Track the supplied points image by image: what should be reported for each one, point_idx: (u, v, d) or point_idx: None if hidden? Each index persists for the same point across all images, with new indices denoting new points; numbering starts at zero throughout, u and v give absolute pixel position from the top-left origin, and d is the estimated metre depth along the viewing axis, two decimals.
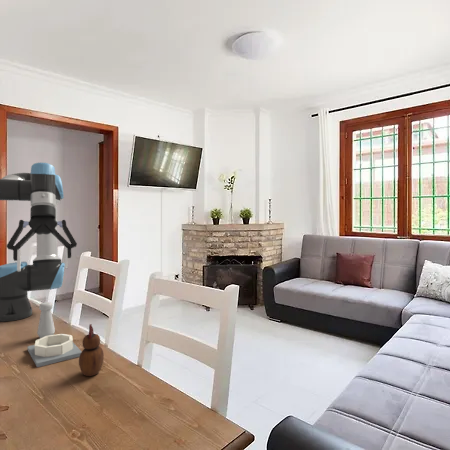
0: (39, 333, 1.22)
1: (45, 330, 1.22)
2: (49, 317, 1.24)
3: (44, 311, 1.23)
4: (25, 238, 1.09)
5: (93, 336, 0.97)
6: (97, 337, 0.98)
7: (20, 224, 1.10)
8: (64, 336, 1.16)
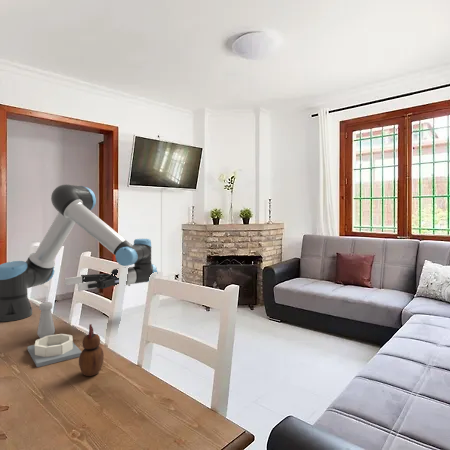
0: (39, 333, 1.22)
1: (45, 330, 1.22)
2: (49, 317, 1.24)
3: (44, 311, 1.23)
4: None
5: (93, 336, 0.97)
6: (97, 337, 0.98)
7: None
8: (64, 336, 1.16)
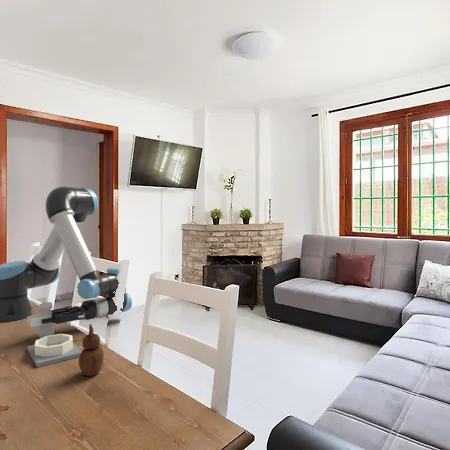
0: (39, 333, 1.22)
1: (45, 330, 1.22)
2: None
3: (44, 311, 1.23)
4: None
5: (93, 336, 0.97)
6: (97, 337, 0.98)
7: None
8: (64, 336, 1.16)
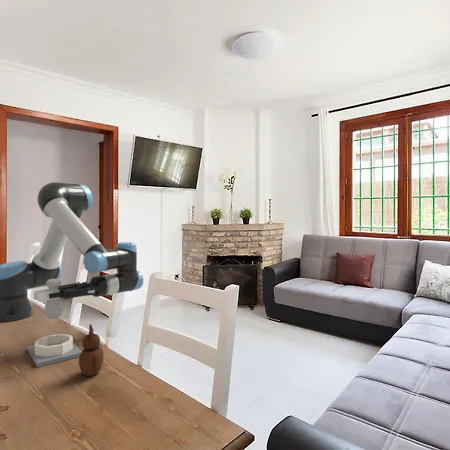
0: (46, 311, 1.13)
1: (52, 309, 1.13)
2: None
3: (52, 288, 1.14)
4: None
5: (93, 336, 0.97)
6: (97, 337, 0.98)
7: None
8: (64, 336, 1.16)
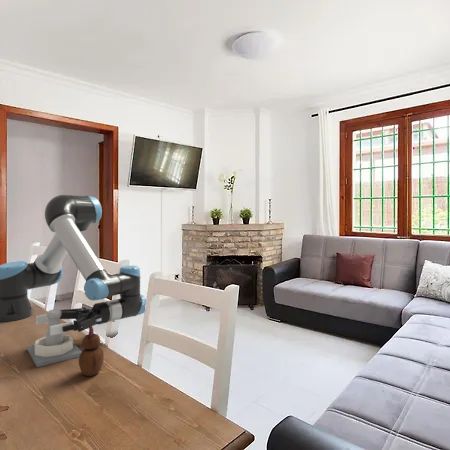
0: (46, 344, 1.09)
1: (53, 341, 1.09)
2: None
3: (52, 319, 1.10)
4: None
5: (93, 336, 0.97)
6: (97, 337, 0.98)
7: None
8: (64, 336, 1.16)
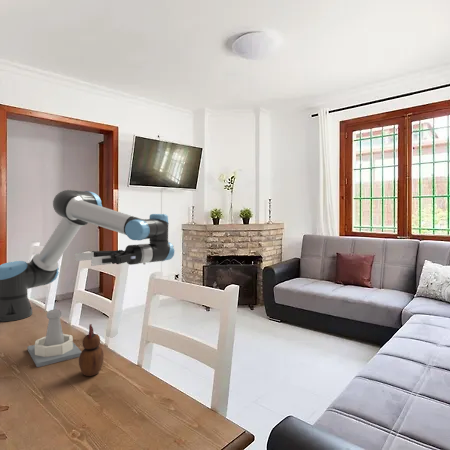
0: (46, 344, 1.09)
1: (53, 341, 1.09)
2: (58, 326, 1.11)
3: (52, 319, 1.10)
4: None
5: (93, 336, 0.97)
6: (97, 337, 0.98)
7: (131, 260, 1.23)
8: (64, 336, 1.16)
